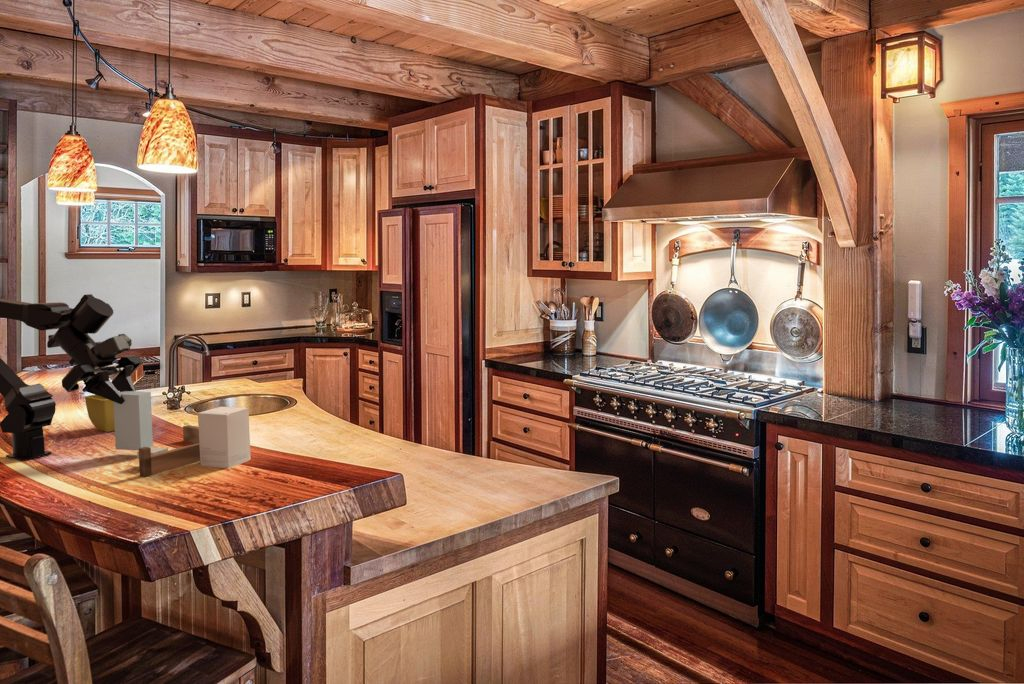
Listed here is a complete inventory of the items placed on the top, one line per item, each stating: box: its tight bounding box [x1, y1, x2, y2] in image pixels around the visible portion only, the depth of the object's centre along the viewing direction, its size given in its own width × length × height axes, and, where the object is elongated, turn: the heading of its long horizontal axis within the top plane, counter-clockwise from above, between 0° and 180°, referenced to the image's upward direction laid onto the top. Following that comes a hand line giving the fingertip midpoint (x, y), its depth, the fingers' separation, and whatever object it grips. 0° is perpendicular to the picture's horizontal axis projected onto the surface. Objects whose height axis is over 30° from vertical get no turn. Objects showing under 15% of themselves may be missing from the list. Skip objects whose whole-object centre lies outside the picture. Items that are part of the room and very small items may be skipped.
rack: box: [138, 424, 200, 478], centre depth 159 cm, size 18×26×7 cm
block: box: [113, 391, 154, 451], centre depth 160 cm, size 6×4×12 cm, turn 81°
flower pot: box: [84, 394, 115, 433], centre depth 191 cm, size 9×9×9 cm
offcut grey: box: [136, 446, 169, 460], centre depth 152 cm, size 4×4×2 cm
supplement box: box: [197, 406, 252, 469], centre depth 155 cm, size 7×7×13 cm
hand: (129, 400), depth 159 cm, fingers closed on block, 4 cm apart
